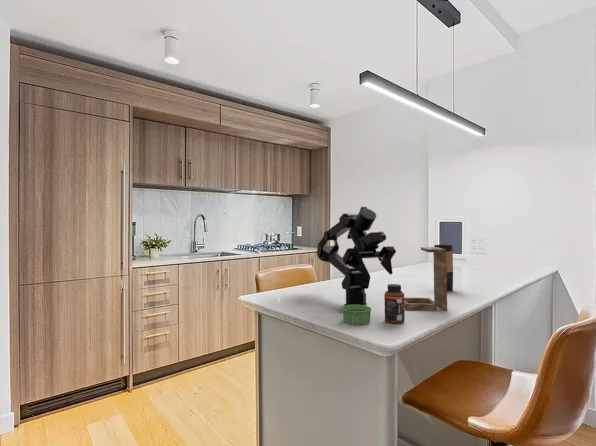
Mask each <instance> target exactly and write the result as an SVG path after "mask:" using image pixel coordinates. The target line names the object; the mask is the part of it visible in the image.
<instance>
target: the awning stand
mask: <svg viewBox="0 0 596 446" xmlns="http://www.w3.org/2000/svg"><path fill="white" fill-rule="evenodd" d="M420 250H421V251H423V252H427V253H433V300H432V299H431V298H430V297H404V303H405V304H404V306H405V307H404V308H405V311H408V310H409V311H438V308H439V309H440V310H441V311H443V312H444V311H445V312H446V311H448V292H447V262H446V249H443V248H439V247H434V246H421V247H420Z"/></svg>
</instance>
